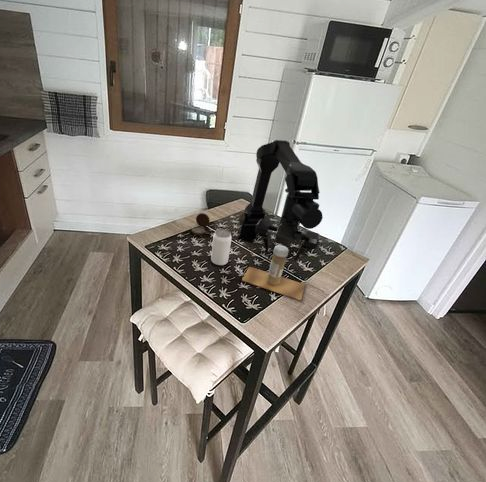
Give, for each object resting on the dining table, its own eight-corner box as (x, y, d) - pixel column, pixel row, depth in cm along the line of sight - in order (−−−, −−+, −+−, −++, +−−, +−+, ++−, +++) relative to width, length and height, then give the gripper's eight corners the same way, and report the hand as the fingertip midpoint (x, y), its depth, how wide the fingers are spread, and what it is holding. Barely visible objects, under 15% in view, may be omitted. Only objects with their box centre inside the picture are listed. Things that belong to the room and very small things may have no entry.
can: (230, 258, 106) (234, 230, 100) (225, 267, 100) (229, 239, 94) (213, 254, 107) (217, 226, 101) (208, 263, 102) (211, 234, 96)
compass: (188, 233, 119) (189, 217, 115) (196, 225, 125) (197, 211, 122) (205, 238, 117) (207, 222, 113) (213, 230, 123) (214, 215, 119)
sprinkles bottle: (281, 285, 95) (291, 251, 88) (269, 286, 93) (278, 252, 86) (276, 276, 98) (285, 244, 91) (264, 277, 97) (272, 244, 90)
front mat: (241, 280, 95) (241, 279, 95) (249, 267, 102) (249, 266, 102) (300, 301, 89) (301, 300, 89) (304, 285, 96) (304, 284, 96)
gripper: (254, 214, 78) (245, 259, 86) (323, 232, 73) (307, 279, 81) (264, 201, 87) (255, 243, 95) (326, 216, 82) (311, 260, 90)
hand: (280, 256), depth 90 cm, fingers open, 9 cm apart
